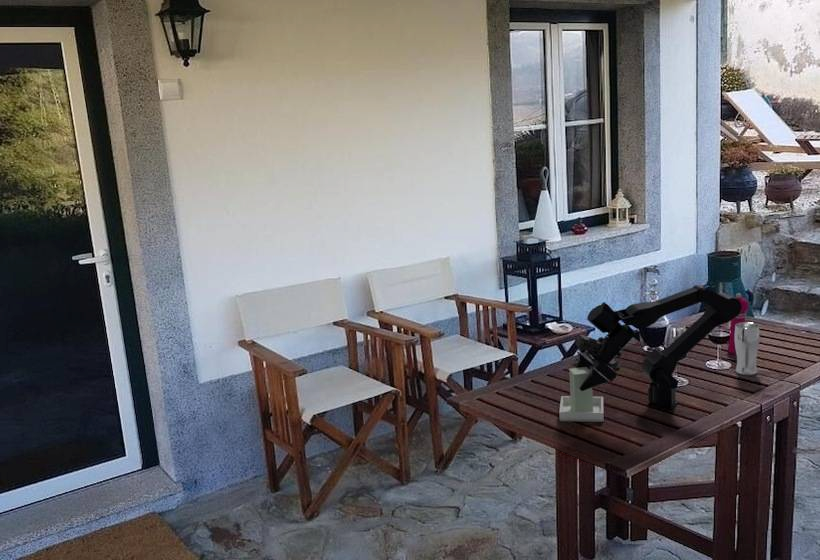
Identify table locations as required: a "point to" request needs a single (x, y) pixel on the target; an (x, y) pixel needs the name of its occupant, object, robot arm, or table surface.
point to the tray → (569, 415)
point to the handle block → (580, 399)
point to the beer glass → (746, 347)
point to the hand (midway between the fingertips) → (576, 384)
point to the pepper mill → (738, 319)
